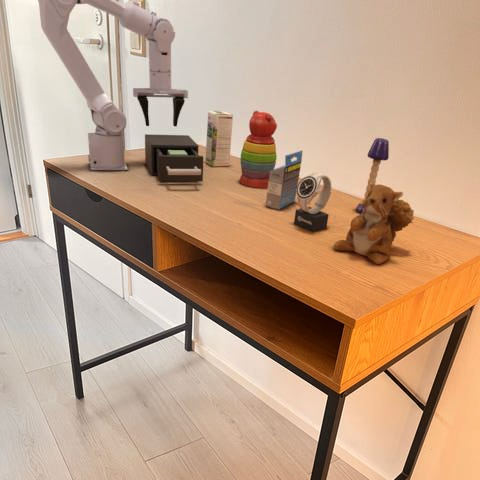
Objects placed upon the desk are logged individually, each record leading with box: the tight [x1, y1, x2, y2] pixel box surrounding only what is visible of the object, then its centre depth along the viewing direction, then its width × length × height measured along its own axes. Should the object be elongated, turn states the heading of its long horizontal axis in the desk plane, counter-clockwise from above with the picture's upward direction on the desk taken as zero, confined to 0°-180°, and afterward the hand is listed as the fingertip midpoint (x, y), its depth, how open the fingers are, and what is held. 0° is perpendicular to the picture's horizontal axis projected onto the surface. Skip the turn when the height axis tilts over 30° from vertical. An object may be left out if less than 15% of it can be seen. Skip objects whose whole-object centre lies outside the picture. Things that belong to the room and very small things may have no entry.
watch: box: [293, 172, 332, 233], centre depth 102 cm, size 6×8×11 cm
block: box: [168, 150, 188, 156], centre depth 127 cm, size 4×4×5 cm
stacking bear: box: [239, 110, 278, 189], centre depth 127 cm, size 11×10×18 cm
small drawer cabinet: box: [144, 133, 199, 177], centre depth 135 cm, size 13×12×8 cm
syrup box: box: [205, 110, 234, 167], centre depth 143 cm, size 6×6×14 cm
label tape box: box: [265, 150, 303, 210], centre depth 114 cm, size 9×4×12 cm, turn 149°
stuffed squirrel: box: [332, 182, 415, 265], centre depth 92 cm, size 10×14×13 cm
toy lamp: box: [355, 137, 390, 215], centre depth 113 cm, size 5×5×17 cm
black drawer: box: [154, 148, 204, 183], centre depth 126 cm, size 17×11×6 cm, turn 17°
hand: (161, 125), depth 136 cm, fingers open, 7 cm apart
